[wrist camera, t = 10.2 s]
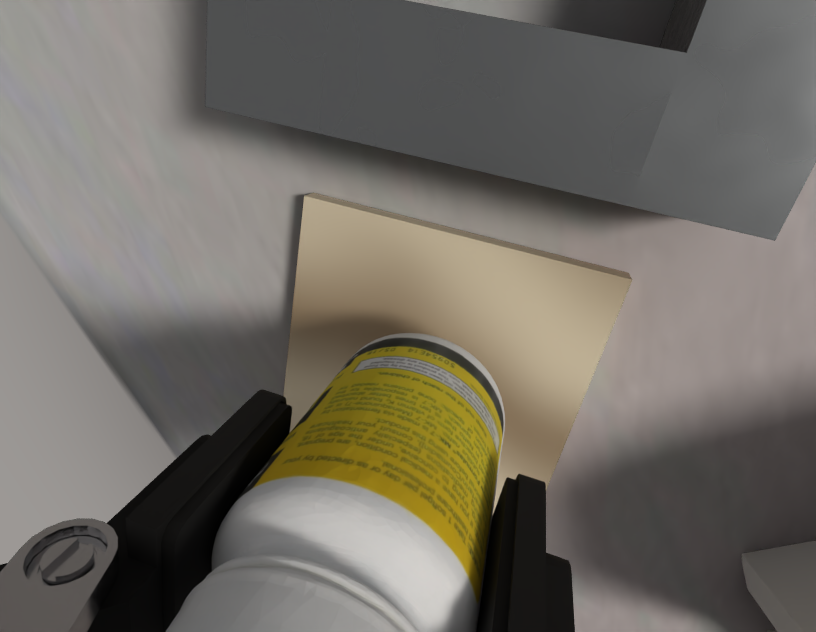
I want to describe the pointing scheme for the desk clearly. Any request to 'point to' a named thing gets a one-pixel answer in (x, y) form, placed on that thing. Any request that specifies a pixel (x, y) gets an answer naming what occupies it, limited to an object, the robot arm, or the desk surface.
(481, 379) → the supplement bottle
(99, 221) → the desk surface
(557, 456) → the pad
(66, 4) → the desk surface
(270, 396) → the robot arm
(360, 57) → the socket block
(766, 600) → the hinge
